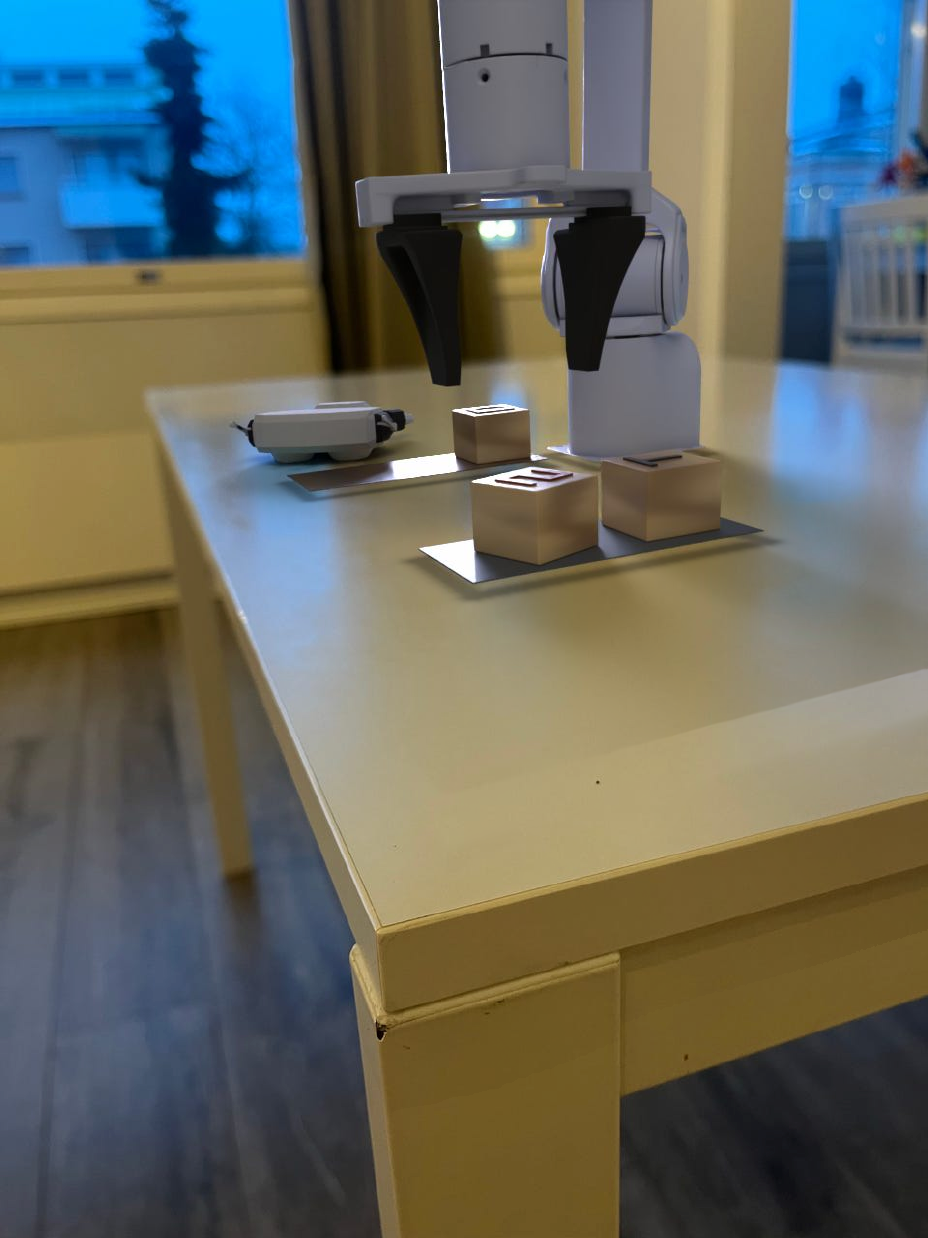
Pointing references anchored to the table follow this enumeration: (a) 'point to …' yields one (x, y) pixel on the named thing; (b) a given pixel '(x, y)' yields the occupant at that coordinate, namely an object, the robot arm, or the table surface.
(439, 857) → the table surface
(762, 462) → the table surface
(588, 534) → the tile
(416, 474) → the strip back
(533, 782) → the table surface
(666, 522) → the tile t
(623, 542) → the strip front
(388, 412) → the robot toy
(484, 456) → the tile
